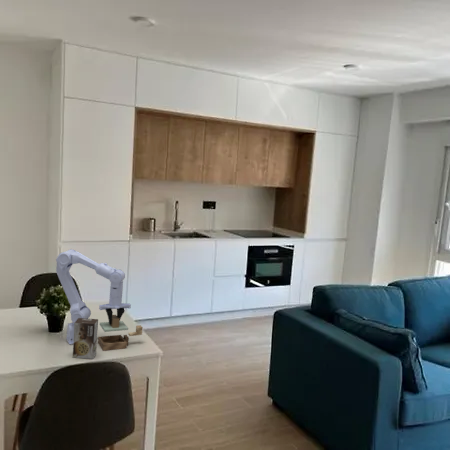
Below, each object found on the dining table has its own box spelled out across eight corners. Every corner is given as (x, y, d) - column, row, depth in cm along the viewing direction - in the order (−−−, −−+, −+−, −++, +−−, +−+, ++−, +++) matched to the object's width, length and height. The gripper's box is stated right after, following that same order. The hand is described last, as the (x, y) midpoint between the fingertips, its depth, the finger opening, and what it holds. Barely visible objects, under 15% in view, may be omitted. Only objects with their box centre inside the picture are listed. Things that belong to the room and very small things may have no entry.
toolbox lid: (104, 331, 206) (105, 321, 206) (99, 324, 215) (100, 314, 215) (128, 330, 212) (128, 319, 211) (122, 322, 220) (122, 313, 220)
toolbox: (102, 350, 206) (103, 342, 206) (97, 342, 215) (98, 334, 214) (130, 347, 213) (130, 339, 212) (123, 340, 221) (124, 332, 221)
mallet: (129, 336, 215) (130, 328, 215) (128, 334, 218) (128, 326, 218) (141, 335, 218) (142, 327, 218) (139, 333, 221) (140, 325, 221)
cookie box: (96, 353, 203) (99, 319, 201) (92, 359, 196) (95, 323, 195) (76, 351, 202) (78, 317, 201) (71, 357, 196) (74, 322, 194)
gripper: (102, 298, 205) (100, 327, 206) (133, 297, 212) (131, 325, 213) (98, 294, 211) (97, 322, 213) (129, 293, 218) (127, 320, 220)
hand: (113, 323), depth 213 cm, fingers closed on toolbox lid, 3 cm apart
